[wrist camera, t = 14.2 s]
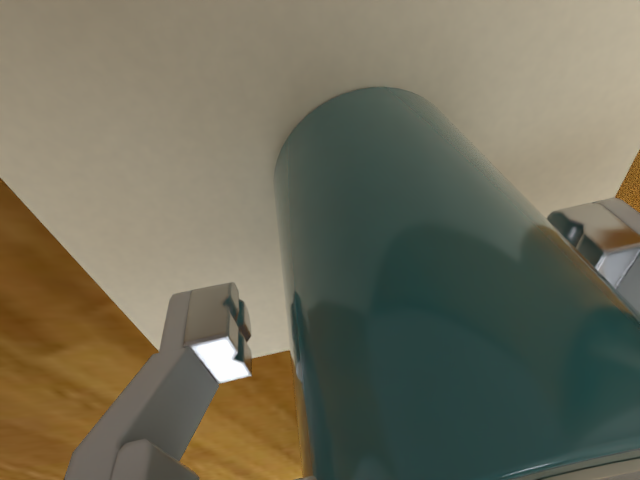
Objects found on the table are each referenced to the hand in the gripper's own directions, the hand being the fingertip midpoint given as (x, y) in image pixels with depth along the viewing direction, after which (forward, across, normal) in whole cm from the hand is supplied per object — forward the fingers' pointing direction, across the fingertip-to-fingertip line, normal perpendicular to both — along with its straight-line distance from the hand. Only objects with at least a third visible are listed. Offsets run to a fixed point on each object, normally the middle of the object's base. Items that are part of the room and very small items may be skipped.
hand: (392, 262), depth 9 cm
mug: (+3, 0, +1) cm, 4 cm away
